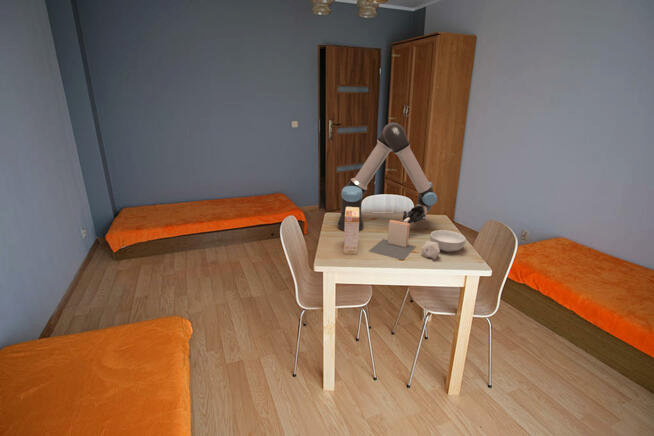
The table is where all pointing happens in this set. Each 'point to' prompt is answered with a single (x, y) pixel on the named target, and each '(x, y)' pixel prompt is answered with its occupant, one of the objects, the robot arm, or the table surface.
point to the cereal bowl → (448, 240)
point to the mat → (392, 250)
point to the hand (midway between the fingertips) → (404, 223)
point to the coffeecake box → (351, 230)
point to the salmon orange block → (398, 233)
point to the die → (431, 249)
